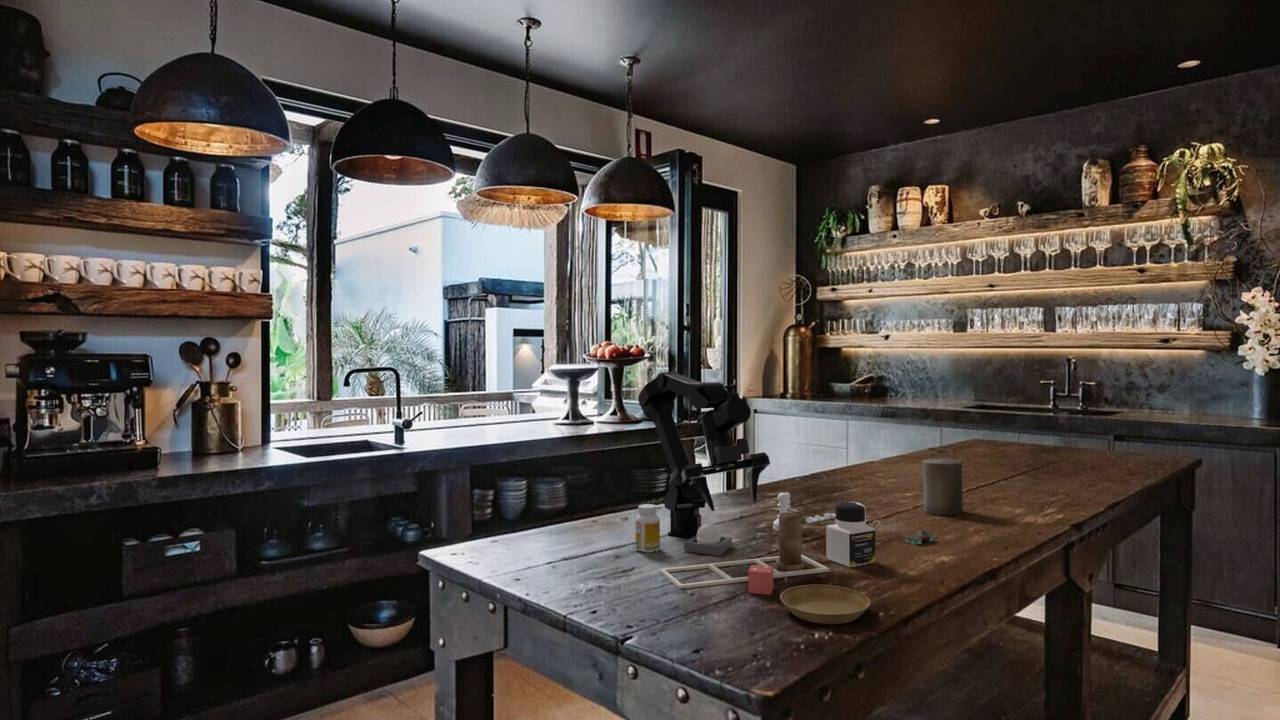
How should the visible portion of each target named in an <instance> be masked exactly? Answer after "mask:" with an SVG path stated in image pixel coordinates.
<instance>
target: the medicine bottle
mask: <svg viewBox="0 0 1280 720" xmlns="http://www.w3.org/2000/svg"><path fill="white" fill-rule="evenodd" d="M866 510H867V508H866V506H865V505H864V504H863V503H860V502H855V501H841V502H839V503H836V504H835V514H836V518H835V524H827V525H826V526H825V529H826V535H825V536H826V538H825V539H826V548H825V549H826V560H828V561H831V562H834V563H837V564H840V565H842V566H846V567H848V568H853V567H858V566H863V564H864V565H869V564H868V563H870V564H874V563H873V562H875V563H876V529H875V528H874V527H872V526H867V525H866V522H867V521H866V520H867V519H866V517H867V515H866V512H867V511H866Z"/></svg>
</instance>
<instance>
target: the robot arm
mask: <svg viewBox="0 0 1280 720" xmlns="http://www.w3.org/2000/svg"><path fill="white" fill-rule="evenodd" d="M679 395H680V396H682V397H685V398H687V399H688V403H689V404H690V405H692V406H693V407H694V408H695V409H697V410H699V409H700V410H703V409H709V410H707V411H700V413H699V415H698V417H697V419H696V423H697V424H701V425H702V430H703V431H702V432H703V435H704V440H705V444H706V450H707V453H708V454H707V455H708V457H709V465H706V466H703V464H702V463H701V462H699V463H694V464H691V462H690V460H689V458H688V454H687V452H686V448H685V446H684V444H683V441H682V439H681V436H680V435H681V434H680V433H679V430H678V428H677V425H676V422H675V420H674V416H673V413H674V409H675V405H676V403H675V401H676V399H678V397H679ZM637 401H638V404H639V406H640V408H641V410H642V412H643V414H644V416H645V417H647V418H648V419H649V420H650V421H652V422H653V424H654V426H655V430H656V432H657V435H658V438H659V441H660V444H661V447H662V449H663V453H664V456H665V458H666V460H667V463H668V464H667V465H668V467H669V470H670V473H671V474H670V478H669V481H668V488H669V489H668V491H667V492H666V495H665V496H664V498H663V505H664V508H665V509H667V510H669V511H670V515H669V516H670V517H669V518H670V522H669V523H670V525H669V526H670V531H668V532H667V535H668V536H674V537H683V538H690V539H691V538H693V537H694V536H696V535H697V531H698V529H699V528H700V526H702V514H700V509H704V508H705V507H706V504H707V506H708V508H709V509H710V510H711V512H714V511H715V506H714V505H715V504H714V501H713V498H712V495H711V493H710V492H711V491H710V489H709V485H708V481H707V479H708V478H707V476H710V475H715V474H721V473H727V472H732V471H738V470H743V469H746V470H748V472H747V473H746V477H747V482H748V488H749V493H750V498H751V501H752V504H756V503H757V496H758V495H757V494H758V483H759V479H760V474H762V473H763V471H764V470H765V469H766V468H767V467H769V465H770V464H771V461H770V457H769V455H768V454H767V452H759V453H753V454H752V453H751V454H749V453H750V447H749V442H748V440H747V439H748V438H747V437H741V438H737V439H736V442H735V441H734V438H733V436H732V433H731V431H732V430H734V429H735V428H737V427H738V426H741V425H742V424H744V423H746V422H747V421H748V420H749V419H750V418H751V414H752V413H751V412H752V411H751V410H752V409H751V407H750V406H749V404H748V403H747V402H746V401H745V400H744V399H743V398H741V397H740V395H739V392H729V391H728V390H727V389H726V388H725V385H724V384H723V383H722V382H717V381H716V382H714V381H713V382H710V381H709V382H708V381H706V382H705V381H704V382H703V381H698V380H695V379H694V378H691V377H687V376H685V375H682V374H680V373H678V372H676V371H665V372H664V371H662V372H659V373H658V374H657V375H656V377H655V378H654V379H653V380H651V381H649V382H647V384H645V385H644V386H643V388H642V389H641V391H640V393H639V394H638V400H637ZM744 454H745V455H746V454H749V455H748V456H747V457H746V458H745V459H743V457H742V455H744Z"/></svg>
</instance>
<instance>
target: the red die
mask: <svg viewBox="0 0 1280 720" xmlns="http://www.w3.org/2000/svg"><path fill="white" fill-rule="evenodd" d="M773 568H774V566H772V565H769V566H761V565H758V564H751V566H750V568H749V569H748V573H747V574H748V576H747V577H748V581H747V582H748V585H747V586H748V587H747V588H748V589H747V590H748V591H747V592H748V594H757V595H769V596H771V595H772V593H773V590H774V578H773Z"/></svg>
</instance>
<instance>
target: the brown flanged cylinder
mask: <svg viewBox="0 0 1280 720" xmlns="http://www.w3.org/2000/svg"><path fill="white" fill-rule="evenodd" d="M778 515H779V531H778V551H779V552H778V556H779V559H778V560H776V568H778V569H780V570H783V571H786V572H791V571H799V570H805V561H804V560H802V559H801V554H802V514H800V513H799V514H797V513H781V514H778Z"/></svg>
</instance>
